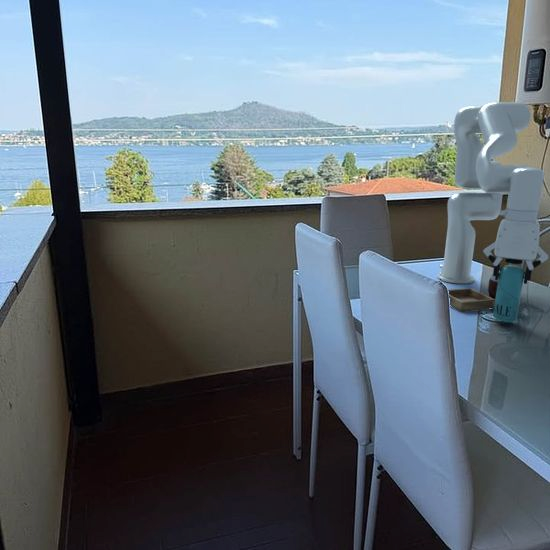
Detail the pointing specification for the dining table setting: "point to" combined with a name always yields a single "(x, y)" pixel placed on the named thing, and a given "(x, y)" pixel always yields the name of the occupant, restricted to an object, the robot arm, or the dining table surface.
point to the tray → (469, 300)
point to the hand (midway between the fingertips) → (510, 280)
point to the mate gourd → (493, 286)
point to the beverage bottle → (508, 291)
